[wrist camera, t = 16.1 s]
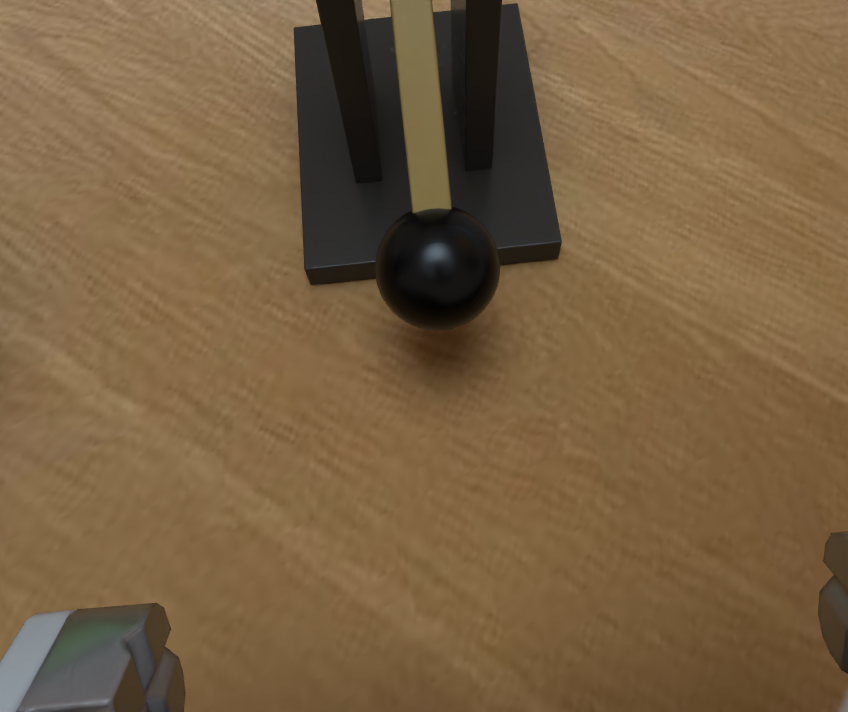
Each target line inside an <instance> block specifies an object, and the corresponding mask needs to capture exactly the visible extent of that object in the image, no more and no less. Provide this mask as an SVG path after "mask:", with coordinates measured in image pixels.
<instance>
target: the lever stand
mask: <svg viewBox="0 0 848 712" xmlns="http://www.w3.org/2000/svg"><path fill="white" fill-rule="evenodd" d="M316 3H317V7H318V12H319V17H320V21H321V25H313V26H304V27H295V28H294V45H295V68H296V90H297V112H298V134H299V157H300V179H301V201H302V224H303V246H304V268H305V272H306V274H307V277H308V279H309V282H310V284H311V285H313V284H323V283H332V282H341V281H351V280H360V279H369V278H376V275H375V260H376V254H377V250H378V247H379V244H380V242H381V240H382V238H383V236H384V234H385V233H386V232H387V230H388V229H389V228H390V226H391V225H392V224H393V223H394V222H395V221H396V220H398V219H399V218H400V217H401V216H403V215H404V214H406V213H408V212H410V211H412V204H411V195H410V186H409V176H408V167H407V157H406V148H405V139H404V129H403V120H402V111H401V101H400V92H399V82H398V73H397V64H396V54H395V45H394V35H393V26H392V17H386V18H377V19H368V20H364V14H363V7H362V0H316ZM433 18H434V28H435V39H436V49H437V60H438V70H439V81H440V92H441V102H442V113H443V123H444V134H445V144H446V155H447V165H448V176H449V186H450V197H451V206H452V207H456V208H459V209H461V210H464V211H466V212H468V213H469V214H471V215H473V216H474V217H475V218H477V219H478V220H479V221H480V222H481V223H482V224H483V225H484V226H485V227H486V229H487V230H488V231H489V233H490V234H491V236H492V238H493V240H494V242H495V244H496V247H497V250H498V254H499V259H500V265H501V264H510V263H519V262H529V261H538V260H547V259H557V258H558V256H559V251H560V247H561V242H562V241H561V235H560V230H559V224H558V219H557V214H556V208H555V203H554V197H553V192H552V187H551V181H550V176H549V170H548V165H547V160H546V154H545V149H544V143H543V138H542V133H541V127H540V122H539V116H538V111H537V106H536V100H535V95H534V89H533V84H532V79H531V73H530V68H529V62H528V57H527V52H526V46H525V41H524V35H523V30H522V25H521V19H520V14H519V8H518V4H517V3H515V4H506V5H502V0H451V11H442V12H433Z"/></svg>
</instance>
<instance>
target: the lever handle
mask: <svg viewBox="0 0 848 712" xmlns="http://www.w3.org/2000/svg"><path fill="white" fill-rule="evenodd" d="M390 7H391V17H392V26H393V35H394V45H395V54H396V64H397V73H398V82H399V92H400V101H401V111H402V120H403V129H404V139H405V148H406V157H407V167H408V176H409V186H410V195H411V204H412V211H410V212H408V213H406V214H404V215H403V216H401V217H400V218H399V219H398V220H396V221H395V222H394V223H393V224H392V225H391V226H390V228H389V229H388V230H387V232H386V233H385V234H384V236H383V238H382V240H381V242H380V244H379V247H378V250H377V254H376V260H375V275H376V281H377V285H378V288H379V291H380V293H381V295H382V298H383V299H384V301H385V302H386V304H387V306H388V307H389V308H390V309H391V310H392V311H393V312H394V313H395V314H396V315H397V316H398V317H399V318H401V319H402V320H404V321H405V322H407V323H409V324H411V325H413V326H416V327H418V328H422V329H427V330H448V329H453V328H456V327H459V326H462V325H464V324H466V323H468V322H469V321H471V320H473V319H474V318H475V317H477V316H478V315H479V314H480V313H481V312H482V311H483V310H484V309H485V308H486V307H487V305H488V304H489V302H490V301H491V299H492V297H493V296H494V294H495V291H496V288H497V286H498V281H499V276H500V259H499V254H498V250H497V247H496V244H495V242H494V240H493V238H492V236H491V234H490V233H489V231H488V230H487V229H486V227H485V226H484V225H483V224H482V223H481V222H480V221H479V220H478V219H477V218H475V217H474V216H473V215H471V214H469V213H468V212H466V211H464V210H461V209H459V208H456V207H452V206H451V197H450V186H449V176H448V165H447V155H446V144H445V134H444V123H443V113H442V102H441V92H440V81H439V70H438V60H437V49H436V39H435V28H434V18H433V7H432V0H390Z"/></svg>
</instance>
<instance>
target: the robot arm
mask: <svg viewBox="0 0 848 712" xmlns="http://www.w3.org/2000/svg"><path fill="white" fill-rule="evenodd" d="M823 562H824V563H825V564H826V565H827V567H828V568H829V569H830V571H831V572H832V573H833V574H834V575H833V576H832V577H831V579H830V580H829V581H828V582H827V583H826V584H825V585H824V587H823V588H822V589H821V590H820V592H819V606H818V616H819V621H820V626H821V631H822V636H823V638H824V641H825V643H826V645H827V647H828V650H829V652H830V654H831V655H832V657H833V658H834V660H835V661H836V663H837V664H838V666H839V667H840V669H841V670H842V671H844V672H845V673H847V674H848V531H845V532H836V533H831V534H830V536H829V538H828V540H827V542H826V544H825V550H824V558H823ZM170 630H171V628H170V625H169V622H168V618H167V615H166V612H165V609H164V607H162V606H161V605H159V604H158V603H149V604H136V605H124V606H112V607H100V608H87V609H77V610H76V611H75V610H68V611H57V612H47V613H37V614H35V615H34V616H32V617H30V618H28V619H27V620H26V621H25V623H24V624H23V626H22V628H21V629H20V631H19V632H18V634H17V636H16V637H15V639H14V640H13V642H12V644H11V645H10V647H9V649H8V650H7V652H6V653H5V655H4V657H3V658H2V660H1V661H0V712H184V703H185V685H184V676H183V671H182V667H181V663H180V659H179V657H178V656H176V655H175V654H174V653H173V652H171V651H170V650H169V649H168V648H166V647H165V644H166V642H167V639H168V636H169V633H170Z"/></svg>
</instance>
